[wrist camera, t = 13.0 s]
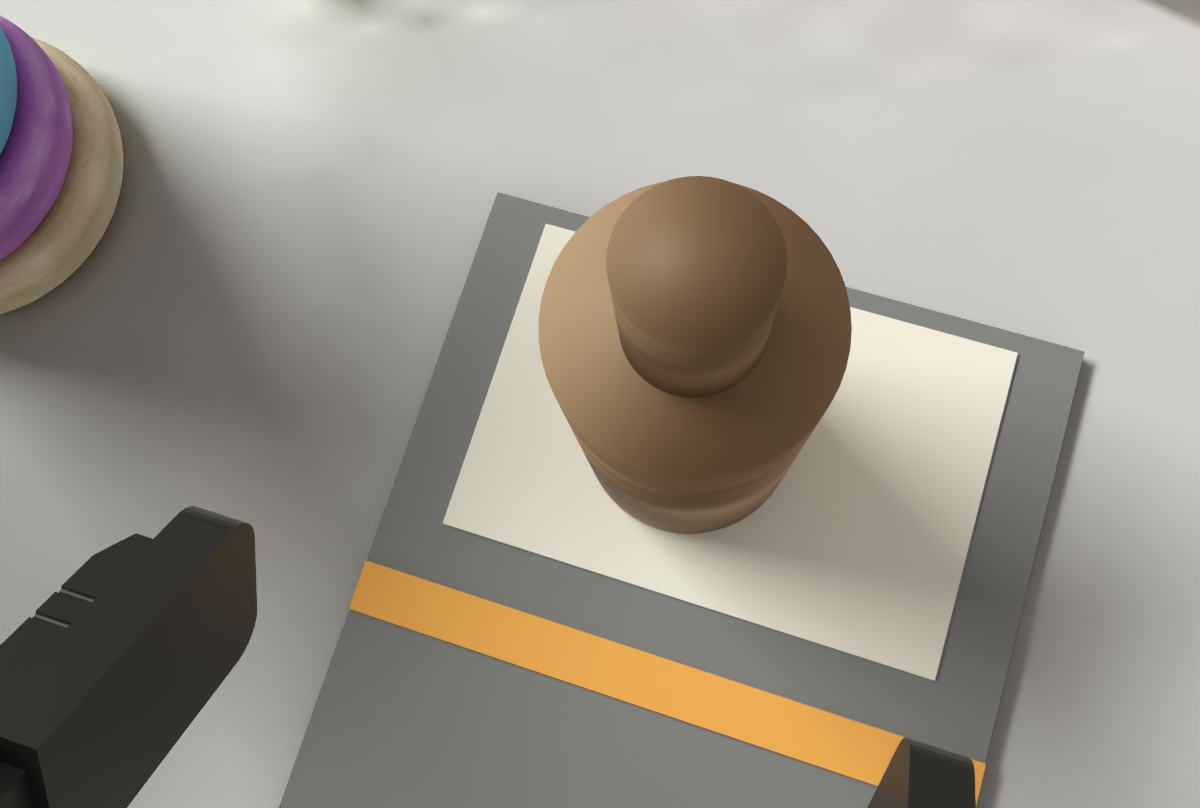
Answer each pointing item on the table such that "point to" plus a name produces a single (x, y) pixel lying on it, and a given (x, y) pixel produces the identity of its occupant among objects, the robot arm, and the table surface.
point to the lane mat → (687, 580)
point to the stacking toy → (51, 166)
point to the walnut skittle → (694, 347)
